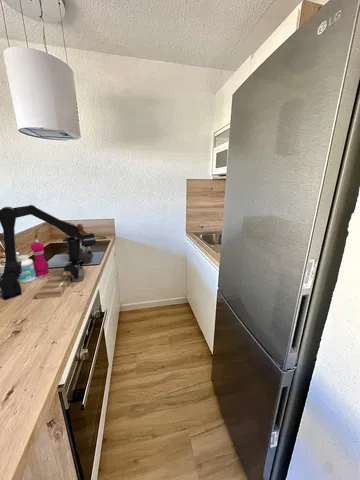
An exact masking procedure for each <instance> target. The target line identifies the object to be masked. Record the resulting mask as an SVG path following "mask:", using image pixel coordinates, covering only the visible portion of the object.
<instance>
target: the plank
mask: <svg viewBox="0 0 360 480" xmlns="http://www.w3.org/2000/svg"><path fill="white" fill-rule="evenodd" d="M64 272H65V271H63V272H61V271H60V272H54V273H52V275H51V276H50V277H49V278H48V279H47V281H46V282H45V283H43V285H42V286H41V287H40V288H39V289H38V291H37V292H35V298H36V300H41V299H50V298H60V297H62V296H63V295H64V293H65V292H66V290H67V288H68V287H69V286H70V284H71V282H72V276H63V273H64Z"/></svg>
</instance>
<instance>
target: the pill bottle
mask: <svg viewBox="0 0 360 480" xmlns="http://www.w3.org/2000/svg"><path fill="white" fill-rule="evenodd" d="M16 258H17V260H18V262H19V261H22V263H21V267H22V274H20V276H19V278H18V279H17V281H18V282H19V283H20V284H26V283H32V282H34V281H35V280H36V277H37V276H36V274H35V272H36V271H35V270H34V261H33V259H32V258H30V256H29V254H22V255H17V256H16Z"/></svg>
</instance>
